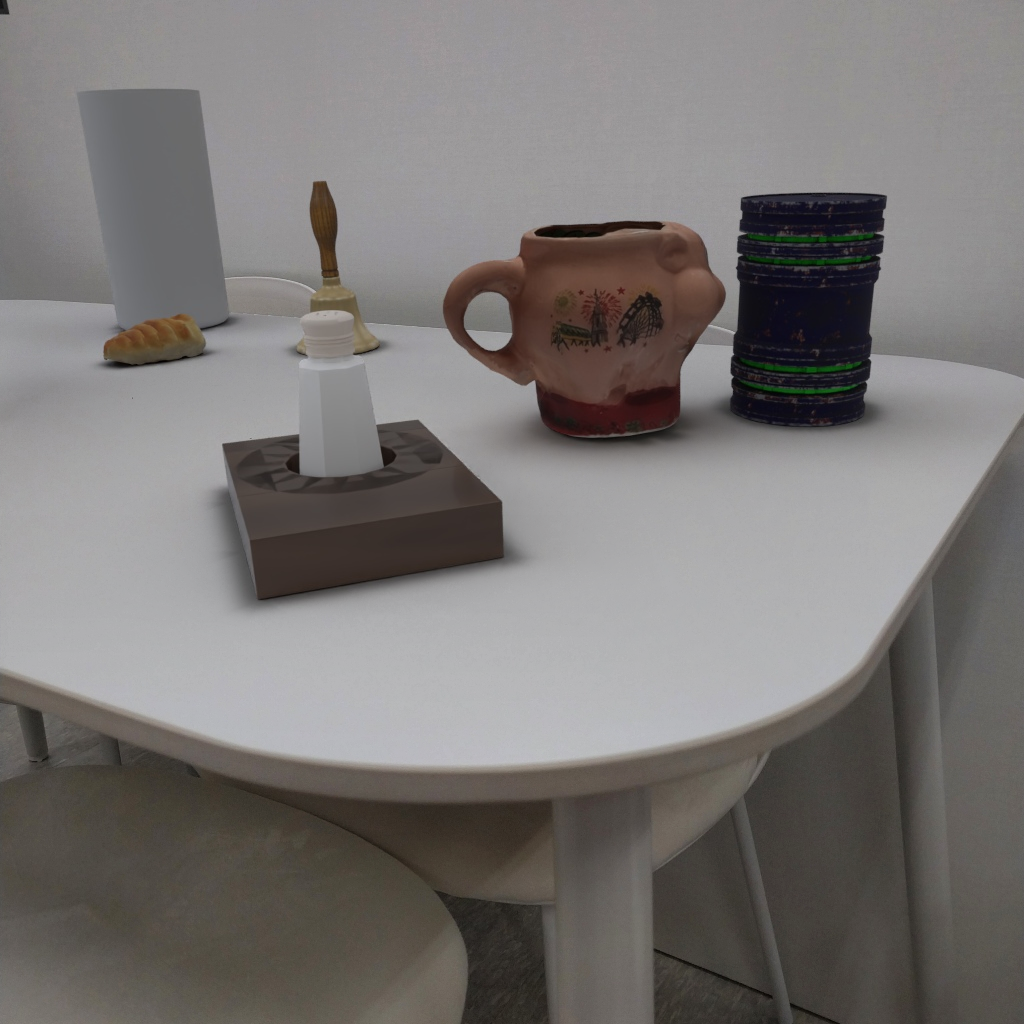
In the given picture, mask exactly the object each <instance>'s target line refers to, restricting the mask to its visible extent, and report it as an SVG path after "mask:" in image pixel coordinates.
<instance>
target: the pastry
mask: <svg viewBox="0 0 1024 1024" xmlns="http://www.w3.org/2000/svg"><path fill="white" fill-rule="evenodd" d="M206 347H207V341H206V338H205V336H204V334H203V331H202V329H200V328H199V327H198V326H197V325H196V322H195V320H194V319H193V318H192V317H191V316H189V315H187V314H178V315H176V316H171V317H170V318H162V319H150V320H146V321H144V322H142V323H140V324H137V325H135V326H133V327H132V328H131V329H129V330H124V331H121V332H119V333H118V334H117V335H116V336H115V335H114V336H113V337H111V338H109V339H108V340H106V341H105V343H104V345H103V355H102V356H103V359H104V360H105V361H109V360H110V361H115V362H119V363H124V364H130V365H131V366H133V365H136V364H137V365H138V366H139V365H140V366H141V365H144V364H146V363H147V364H148V363H158V362H160V361H174V360H178V359H182V357H185V356H186V357H188V358H189V357H190V358H191V357H196V356H198V355H201V354H203V353H204V350H205V348H206Z"/></svg>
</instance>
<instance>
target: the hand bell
mask: <svg viewBox="0 0 1024 1024" xmlns="http://www.w3.org/2000/svg"><path fill="white" fill-rule="evenodd" d="M309 218H310V225H311V229H312V233H313V236H314V238H315V241H316V243H317V246H318V249H319V250H318V251H319V256H320V257H319V258H320V269H321V277H322V286H321V287H320V288H319V289H318V290H317V291H315V292H314V293H312V294H311V295H310V297H309V298H310V299H309V300H310V302H309V303H310V309H309V310H310V311H309V313H311V312H317V311H327V310H339V311H346V312H348V313H351V314H352V315H353V316H354V325H353V330H352V331H353V332H354V335H353V336H354V340H355V341H354V343H353V345H354V348H355V352H354V353H353V355H356V354H361V353H365V352H368V351H371V350H374V349H376V348H378V347H379V346H380V341H379V339H378V338H377V337H376V336H375V334H372V333H371V332H370V330H369V329H368V327H367V326H366V324H365V322H364V320H363V317H362V315H361V312H360V309H359V305H358V300H357V295H356V293H355V292H354V291H352V290H351V289H348V288H346V287H344V286H343V285H342V283H341V277H340V271H339V270H338V269H339V266H338V260H337V259H338V258H337V252H336V251H337V250H336V244H337V238H338V227H339V223H338V213H337V207H336V203H335V201H334V198H333V195H332V193H331V190H330V188H329V186H328V182H327V181H326V180H316V181H315V180H314V181H313V182H312V191H311V194H310V201H309ZM304 339H305V338H304V337H303V336H302V338H301V339H300V340H299V342H298V343H297V345H296V347H295V348H296V352H298V353H299V354H302V355H306V346H305V345H304V343H305V341H304Z"/></svg>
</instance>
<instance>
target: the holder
mask: <svg viewBox="0 0 1024 1024" xmlns="http://www.w3.org/2000/svg"><path fill="white" fill-rule="evenodd" d="M376 427H377V432H378V438H379V443H380V449H381V454H382V460H383V465H384V467H383V468H381V469H378V470H374V471H371V472H367V473H364V474H358V475H350V476H343V477H313V476H305V475H300V453H299V433H298V434H290V435H289V434H288V435H281V436H272V437H264V438H257V439H255V438H254V439H249V440H248V439H247V440H239V441H232V442H224V443H221V448H222V454H223V461H224V469H225V475H226V483H227V491H228V494H229V497H230V501H231V504H232V508H233V512H234V516H235V521H236V524H237V527H238V532H239V536H240V539H241V542H242V546H243V550H244V554H245V557H246V561H247V565H248V569H249V572H250V577H251V580H252V583H253V587H254V591H255V596H256V599H257V600H263V599H268V598H274V597H280V596H286V595H291V594H298V593H302V592H303V593H304V592H309V591H315V590H321V589H325V588H332V587H339V586H344V585H349V584H356V583H361V582H367V581H373V580H378V579H379V580H380V579H384V578H391V577H396V576H402V575H407V574H414V573H419V572H424V571H430V570H435V569H442V568H443V569H444V568H447V567H453V566H458V565H465V564H472V563H477V562H484V561H487V560H493V559H499V558H504V556H505V546H504V544H505V543H504V542H505V541H504V518H503V517H504V514H503V513H504V512H503V501H502V500H501V499H500V498H499V497H498V496H497V495H496V494H495V493H494V491H492V490H491V489H490V488H489V487H488V485H486V484H485V483H484V482H483V481H482V480H481V479H480V478H479V477H478V476H477V475H476V474H475V473H473V472H472V471H471V469H469V468H468V466H466V465H465V463H464V462H463V461H462V460H461V459H460V458H458V456H457V455H456V454H454V453H453V451H451V449H449V448H448V447H447V446H446V445H445V444H444V443H443V442H442V440H440V439H439V438H438V437H437V436H436V435H435V434H434V433H433V432H432V431H431V430H430V429H429V428H427V426H425V425H424V423H422V422H421V420H419V419H410V420H403V421H402V420H401V421H393V422H386V423H376Z"/></svg>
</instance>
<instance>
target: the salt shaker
mask: <svg viewBox="0 0 1024 1024" xmlns="http://www.w3.org/2000/svg"><path fill="white" fill-rule="evenodd" d="M299 322H300V326H301V328H302V331H303V336H302V338H303V337H304V338H305V339H304V341H305V343H304V345H305V346H306V354H305V355H306V356H307V357H306V358H303V359H302V360H300V361H298V434H299V453H300V475H305V476H313V477H343V476H350V475H358V474H364V473H367V472H371V471H374V470H378V469H381V468H383V467H384V465H383V460H382V454H381V449H380V443H379V438H378V432H377V427H376V425H377V421H376V416H375V412H374V405H373V401H372V400H373V399H372V394H371V389H370V383H369V377H368V373H367V370H366V365H365V361H364V359H363V357H362V356H360V355H356V354H353V353H354V352H355V348H354V345H353V343H354V341H355V340H354V336H353V335H354V332H353V331H352V330H353V325H354V316H353V315H352V314H351V313H348V312H346V311H339V310H327V311H317V312H311V313H310V312H309V313H305V314H304V315H303V316H301V317H300V320H299Z"/></svg>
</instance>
